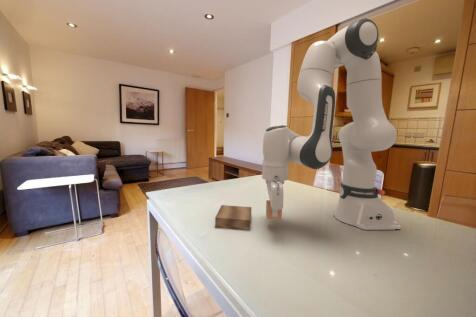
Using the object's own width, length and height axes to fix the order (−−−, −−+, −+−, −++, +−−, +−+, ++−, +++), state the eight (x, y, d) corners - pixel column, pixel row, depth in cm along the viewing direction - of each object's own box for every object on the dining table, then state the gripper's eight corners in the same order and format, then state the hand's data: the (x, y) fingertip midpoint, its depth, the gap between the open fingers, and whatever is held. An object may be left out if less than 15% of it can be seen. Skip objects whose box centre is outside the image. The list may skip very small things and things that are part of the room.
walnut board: (251, 216, 82) (251, 207, 81) (249, 231, 70) (250, 220, 69) (221, 214, 83) (221, 205, 82) (215, 228, 71) (215, 217, 71)
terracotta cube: (279, 214, 75) (280, 200, 74) (281, 220, 70) (282, 205, 69) (266, 213, 75) (266, 200, 74) (266, 219, 70) (267, 205, 69)
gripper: (289, 181, 60) (287, 226, 62) (280, 168, 80) (279, 202, 82) (267, 180, 60) (266, 225, 62) (264, 167, 80) (263, 201, 82)
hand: (273, 212), depth 72 cm, fingers closed on terracotta cube, 5 cm apart
